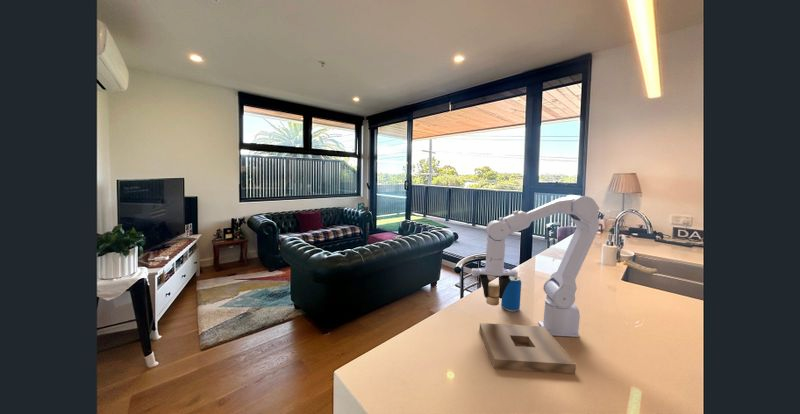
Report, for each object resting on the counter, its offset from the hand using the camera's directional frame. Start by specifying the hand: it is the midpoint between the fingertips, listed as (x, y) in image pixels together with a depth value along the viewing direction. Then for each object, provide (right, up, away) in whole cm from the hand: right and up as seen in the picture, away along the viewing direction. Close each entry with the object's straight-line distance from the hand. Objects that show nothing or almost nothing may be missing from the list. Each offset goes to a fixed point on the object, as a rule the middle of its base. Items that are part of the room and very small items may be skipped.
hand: (492, 296), depth 93 cm
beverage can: (+11, -8, +12) cm, 18 cm away
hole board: (+4, -11, -13) cm, 18 cm away
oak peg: (0, -2, 0) cm, 2 cm away
